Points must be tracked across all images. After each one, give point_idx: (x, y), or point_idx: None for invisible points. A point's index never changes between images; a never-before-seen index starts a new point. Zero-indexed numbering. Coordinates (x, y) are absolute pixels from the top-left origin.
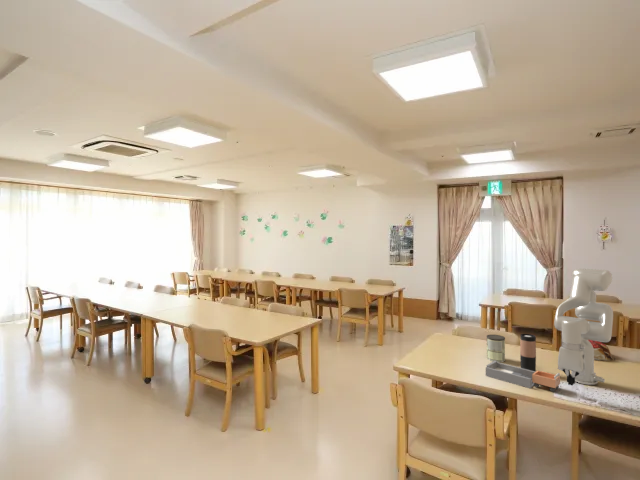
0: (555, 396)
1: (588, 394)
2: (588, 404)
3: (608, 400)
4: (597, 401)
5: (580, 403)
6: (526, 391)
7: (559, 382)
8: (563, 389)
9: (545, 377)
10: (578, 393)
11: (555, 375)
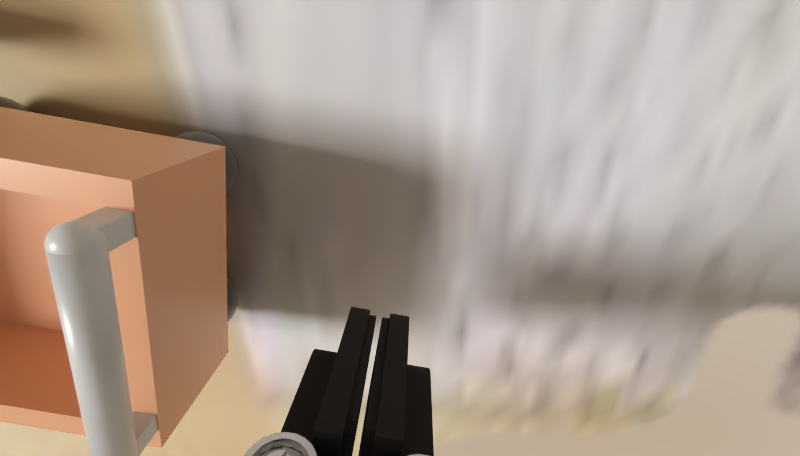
0: (273, 382)
1: (573, 123)
2: (532, 400)
3: (773, 187)
4: (631, 289)
5: (470, 413)
6: None
7: (209, 188)
8: (295, 139)
9: (12, 419)
10: (460, 168)
11: (88, 439)
